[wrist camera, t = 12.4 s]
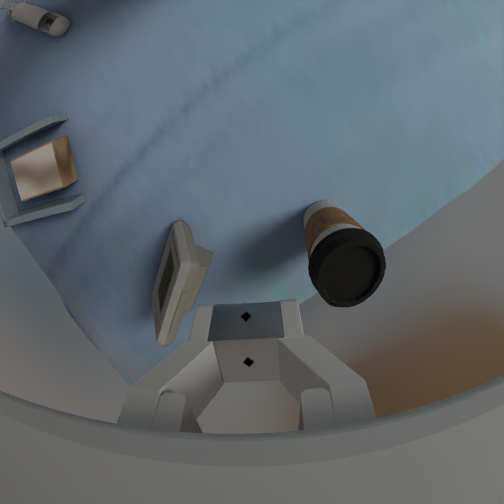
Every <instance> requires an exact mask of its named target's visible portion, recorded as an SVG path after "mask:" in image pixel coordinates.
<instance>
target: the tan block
mask: <svg viewBox="0 0 504 504" xmlns="http://www.w3.org/2000/svg"><path fill="white" fill-rule="evenodd" d="M10 161H11V165H12V169H13V173H14V177H15V181H16V184H17V188H18V191H19V195H20V198H21V201H22V202H23V201H26V200H29V199H32V198H34V197H37V196H40V195H43V194H46V193H49V192H52V191H55V190H58V189H61V188H64V187H66V186H68V185H70V184H71V183H73V182H75V181H77V180H78V177H77V173H76V169H75V165H74V161H73V157H72V153H71V148H70V144H69V139H68V136H64V137H61V138H58V139H54V140H52V141H49V142H47V143H45V144H43V145H41V146H39V147H36V148H34V149H32V150H30V151H28V152H26V153H24V154H22V155H20V156H18V157H16V158H14V159H12V160H10Z"/></svg>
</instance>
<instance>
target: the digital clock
mask: <svg viewBox="0 0 504 504" xmlns="http://www.w3.org/2000/svg"><path fill="white" fill-rule="evenodd" d="M212 255H213V252H211V251H209V250H207V249H204V248H201V247H199V246H196V245H195V244H194V240H193V237H192V233H191V230H190V227H189V225H188V224H187V223H186V222H185V221H183V220H179V221H177V222H175V223H173V225H172V227H171V230H170V234H169V237H168V240H167V243H166V247H165V250H164V253H163V257H162V260H161V264H160V267H159V271H158V274H157V278H156V282H155V285H154V289H153V293H152V308H153V318H154V327H155V335H156V341H157V342H158V343H159V344H160V345H161V346H162V347H166V346H169V345H170V344H172V343H173V341H174V339H175V336H176V334H177V331H178V328H179V325H180V323H181V320H182V317H183V314H184V312H190V311H191V310H192V309H193V306H194V303H195V301H196V298H197V296H198V293H199V291H200V288H201V286H202V283H203V281H204V278H205V276H206V273H207V271H208V268H209V266H210V263H211V259H212Z"/></svg>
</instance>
